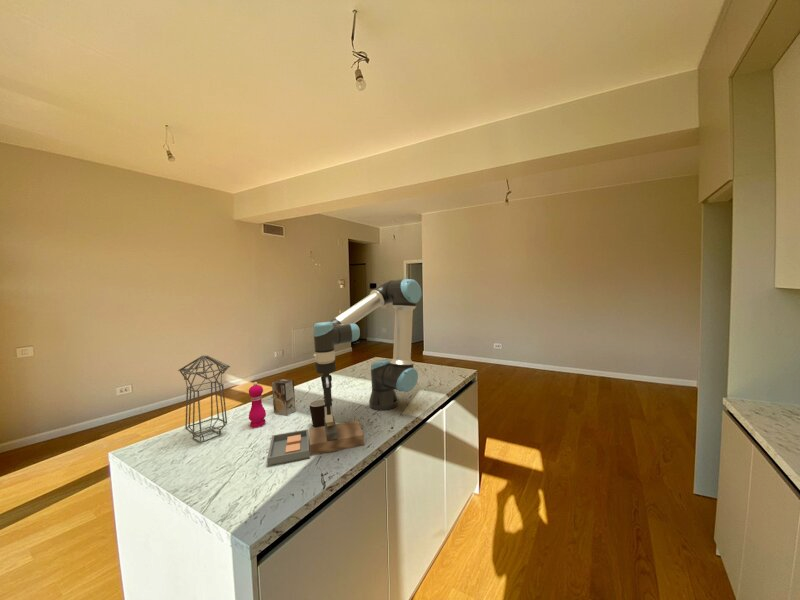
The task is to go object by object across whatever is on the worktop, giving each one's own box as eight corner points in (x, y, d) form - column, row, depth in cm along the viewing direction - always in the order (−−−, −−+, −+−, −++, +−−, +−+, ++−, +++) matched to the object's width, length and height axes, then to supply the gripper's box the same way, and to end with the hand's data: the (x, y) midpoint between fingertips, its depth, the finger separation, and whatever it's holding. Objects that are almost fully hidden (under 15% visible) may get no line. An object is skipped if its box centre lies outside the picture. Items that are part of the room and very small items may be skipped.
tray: (308, 436, 127) (308, 429, 127) (309, 458, 110) (309, 450, 110) (272, 442, 123) (272, 435, 123) (267, 466, 106) (267, 458, 106)
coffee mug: (324, 429, 133) (323, 406, 133) (306, 428, 135) (305, 406, 134) (335, 418, 144) (334, 397, 144) (318, 417, 146) (317, 396, 146)
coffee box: (296, 410, 156) (294, 379, 155) (287, 415, 150) (285, 383, 149) (282, 408, 159) (280, 378, 159) (273, 413, 153) (271, 382, 153)
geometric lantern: (179, 439, 130) (175, 357, 130) (219, 426, 142) (216, 351, 142) (193, 449, 120) (189, 360, 120) (235, 434, 133) (231, 353, 133)
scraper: (334, 421, 130) (331, 388, 129) (338, 438, 114) (334, 400, 114) (324, 423, 128) (321, 389, 128) (327, 441, 113) (323, 402, 112)
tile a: (287, 436, 122) (287, 441, 122) (286, 442, 117) (287, 447, 117) (300, 434, 124) (301, 439, 124) (300, 440, 119) (300, 445, 119)
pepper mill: (269, 422, 143) (267, 380, 142) (258, 429, 136) (255, 384, 135) (257, 420, 145) (255, 379, 145) (245, 427, 138) (242, 383, 138)
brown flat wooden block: (357, 429, 131) (357, 420, 131) (364, 444, 118) (363, 434, 118) (309, 438, 125) (309, 428, 125) (310, 455, 112) (309, 444, 112)
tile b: (286, 445, 115) (286, 450, 115) (285, 452, 110) (285, 457, 110) (300, 443, 117) (300, 448, 117) (300, 449, 112) (300, 454, 112)
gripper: (314, 358, 126) (318, 414, 127) (316, 367, 111) (320, 430, 112) (333, 356, 129) (336, 411, 130) (336, 364, 114) (340, 426, 115)
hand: (328, 420), depth 121 cm, fingers closed on scraper, 2 cm apart
